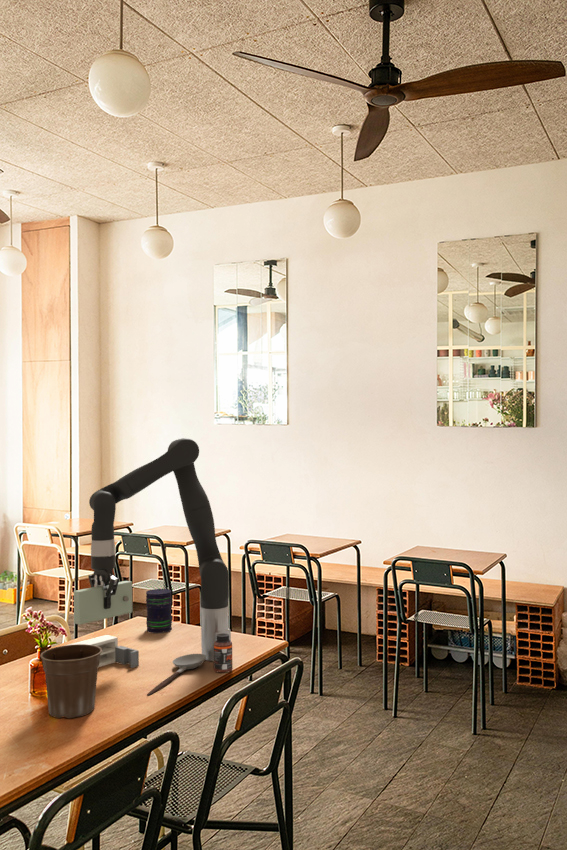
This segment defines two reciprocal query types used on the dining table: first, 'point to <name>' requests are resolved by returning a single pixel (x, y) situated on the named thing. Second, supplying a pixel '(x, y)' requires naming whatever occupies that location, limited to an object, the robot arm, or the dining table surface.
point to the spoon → (181, 668)
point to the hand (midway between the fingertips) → (103, 607)
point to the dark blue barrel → (158, 610)
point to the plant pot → (71, 679)
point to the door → (101, 603)
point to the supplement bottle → (223, 653)
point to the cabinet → (113, 651)
